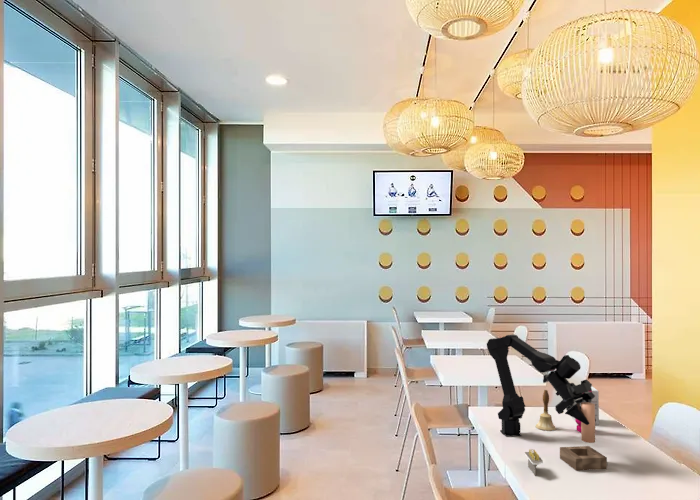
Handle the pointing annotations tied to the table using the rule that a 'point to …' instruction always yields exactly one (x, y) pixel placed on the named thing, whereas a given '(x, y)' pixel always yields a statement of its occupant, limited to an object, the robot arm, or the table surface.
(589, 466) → the socket
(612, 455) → the table surface
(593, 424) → the peg
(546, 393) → the hand bell
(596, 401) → the supplement box
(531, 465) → the platform
